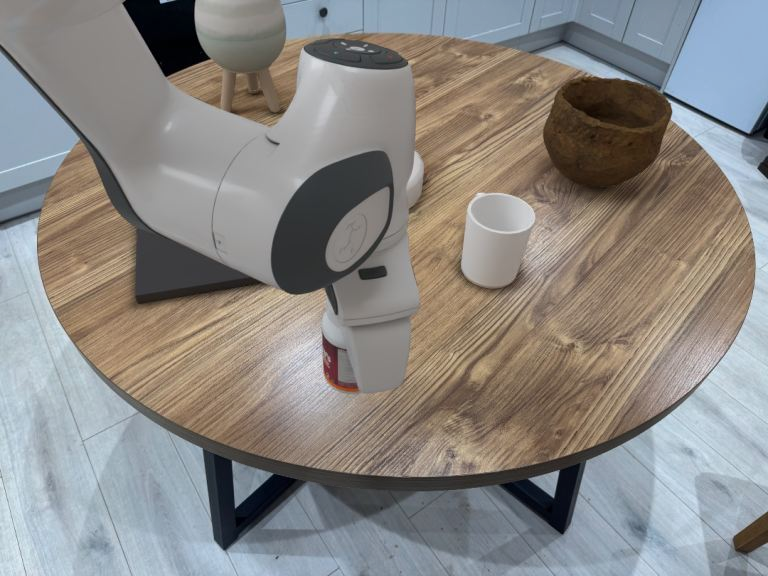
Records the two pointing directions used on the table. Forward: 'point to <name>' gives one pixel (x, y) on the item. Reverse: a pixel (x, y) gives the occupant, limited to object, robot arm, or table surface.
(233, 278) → the board
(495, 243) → the mug
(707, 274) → the table surface
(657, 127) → the bowl
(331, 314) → the pill bottle
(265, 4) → the planter
